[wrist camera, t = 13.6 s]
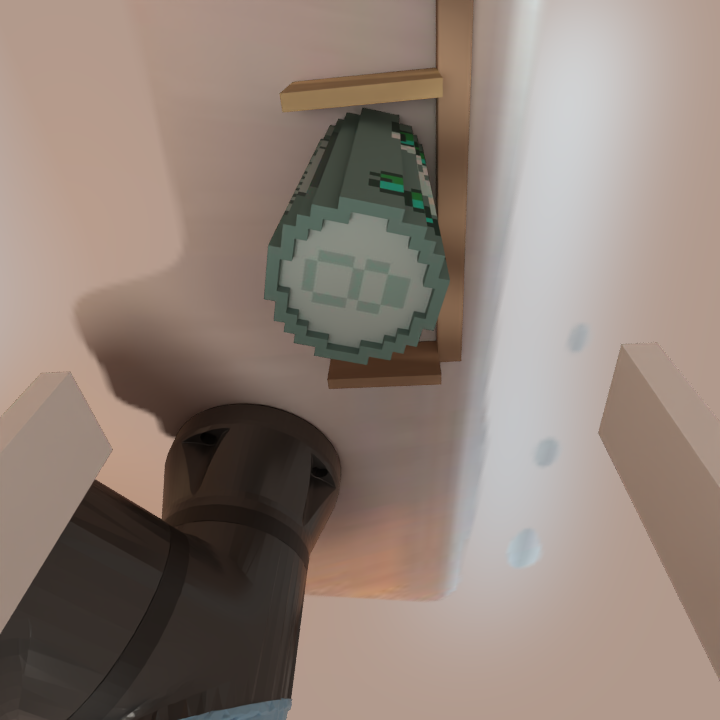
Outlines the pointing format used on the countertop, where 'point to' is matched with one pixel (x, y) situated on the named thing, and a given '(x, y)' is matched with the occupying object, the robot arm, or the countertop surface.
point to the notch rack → (451, 183)
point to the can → (360, 244)
